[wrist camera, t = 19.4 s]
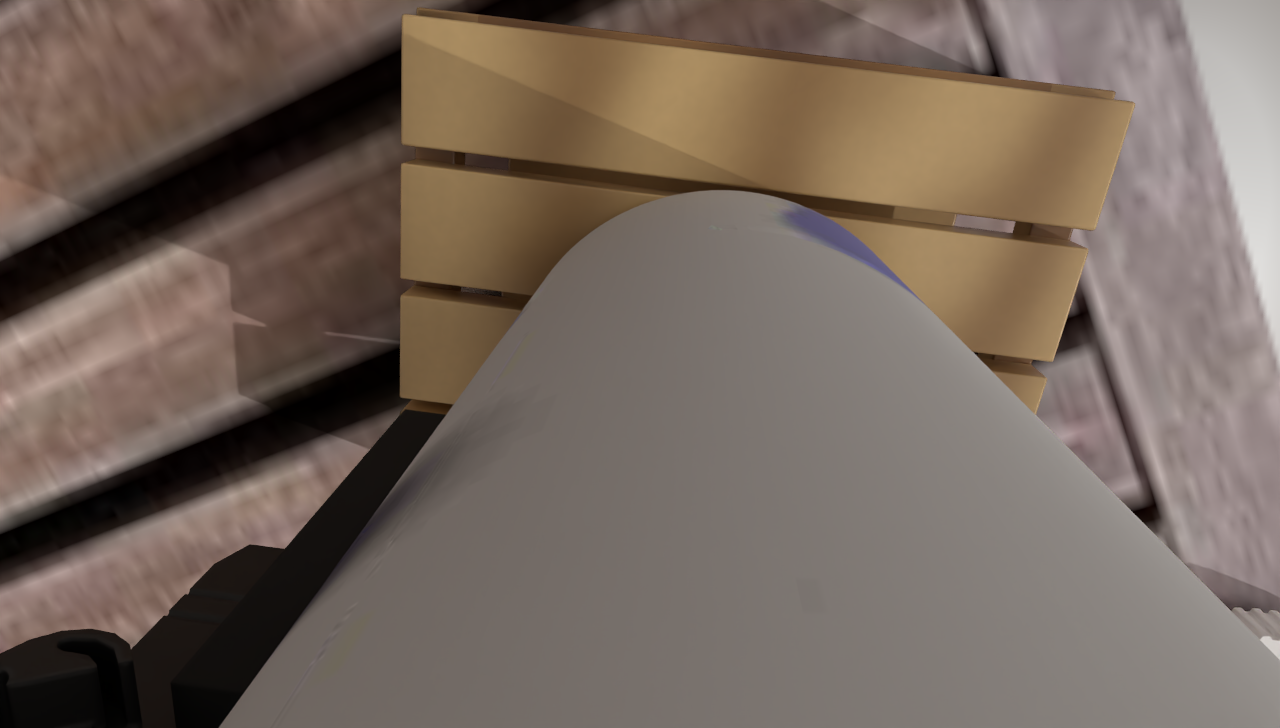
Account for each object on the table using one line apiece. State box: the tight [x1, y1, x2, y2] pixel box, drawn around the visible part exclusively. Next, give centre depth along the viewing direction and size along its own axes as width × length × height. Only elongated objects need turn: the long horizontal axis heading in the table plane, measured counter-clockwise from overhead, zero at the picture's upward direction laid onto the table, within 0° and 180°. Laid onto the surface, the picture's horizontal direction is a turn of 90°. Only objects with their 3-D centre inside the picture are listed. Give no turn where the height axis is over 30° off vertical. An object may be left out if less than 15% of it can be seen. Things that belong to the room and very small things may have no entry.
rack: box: [400, 7, 1135, 415], centre depth 23 cm, size 16×16×7 cm
